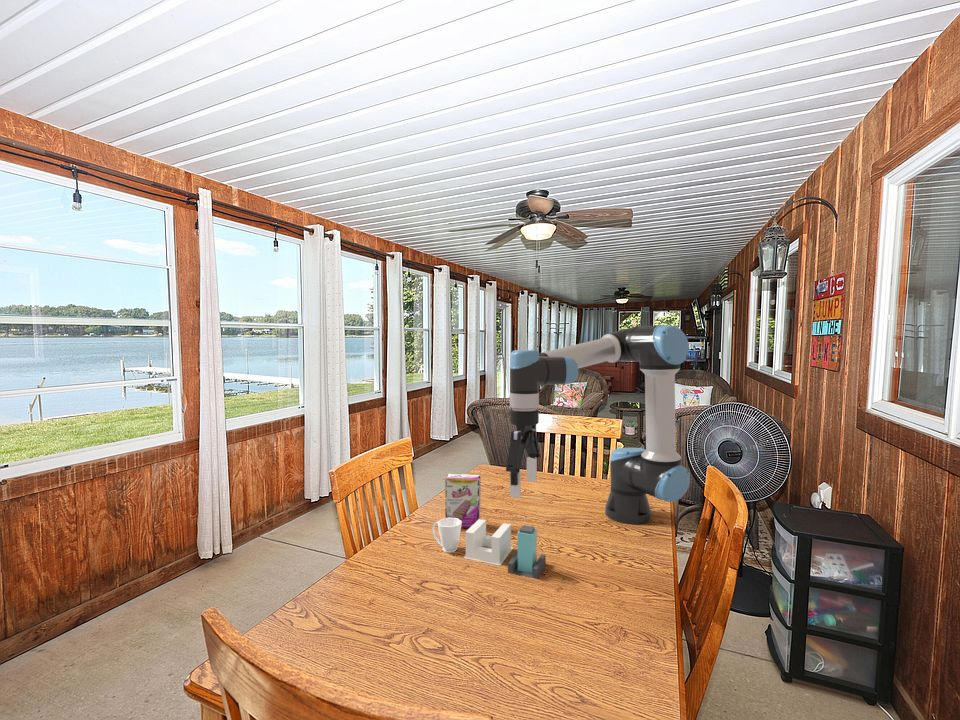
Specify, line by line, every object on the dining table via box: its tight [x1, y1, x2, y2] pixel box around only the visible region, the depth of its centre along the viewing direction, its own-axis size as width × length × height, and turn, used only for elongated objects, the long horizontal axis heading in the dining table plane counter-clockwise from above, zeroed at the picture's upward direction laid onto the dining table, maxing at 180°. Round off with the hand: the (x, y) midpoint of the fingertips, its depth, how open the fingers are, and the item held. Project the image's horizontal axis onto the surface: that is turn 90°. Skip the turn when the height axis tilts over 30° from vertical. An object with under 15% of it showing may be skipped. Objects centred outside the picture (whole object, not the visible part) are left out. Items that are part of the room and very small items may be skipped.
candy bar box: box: [444, 473, 482, 529], centre depth 143 cm, size 11×5×16 cm, turn 84°
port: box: [462, 518, 514, 567], centre depth 124 cm, size 11×11×8 cm
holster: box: [507, 549, 547, 580], centre depth 115 cm, size 8×8×3 cm
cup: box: [431, 517, 462, 554], centre depth 128 cm, size 7×10×8 cm
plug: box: [516, 524, 538, 573], centre depth 115 cm, size 4×4×11 cm
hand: (523, 488), depth 116 cm, fingers open, 13 cm apart
